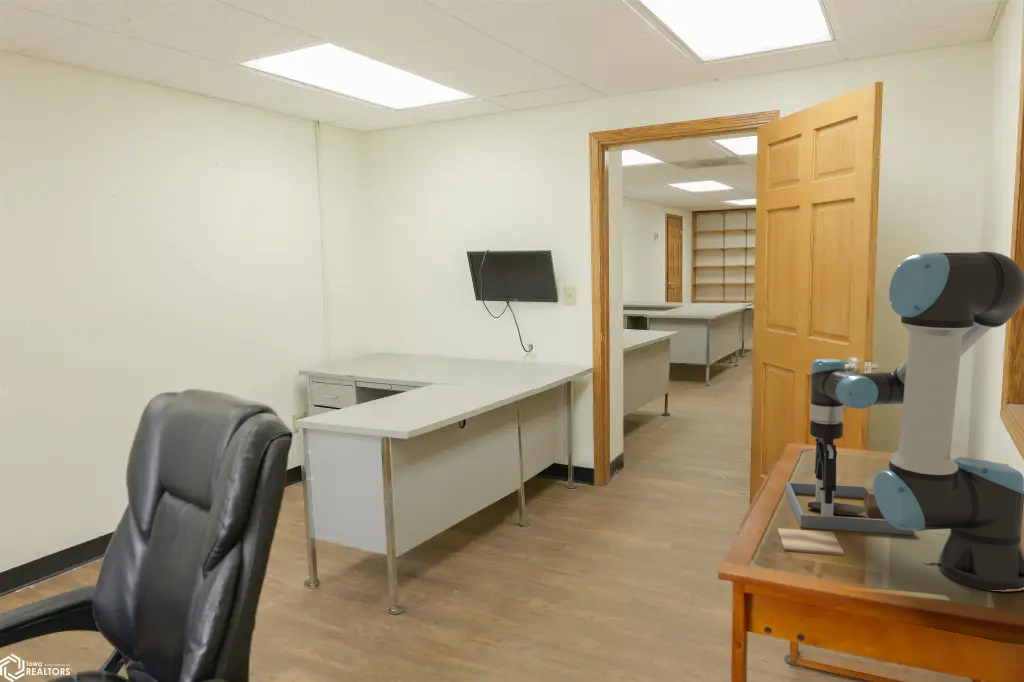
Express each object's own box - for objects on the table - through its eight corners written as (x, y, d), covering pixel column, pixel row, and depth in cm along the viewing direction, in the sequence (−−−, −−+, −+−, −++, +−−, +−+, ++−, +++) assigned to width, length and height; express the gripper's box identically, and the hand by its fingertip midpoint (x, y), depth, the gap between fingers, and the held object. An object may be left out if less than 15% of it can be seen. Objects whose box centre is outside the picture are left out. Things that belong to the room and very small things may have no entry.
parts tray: (913, 535, 156) (913, 522, 156) (800, 527, 162) (800, 515, 162) (882, 498, 181) (882, 487, 181) (786, 492, 187) (786, 481, 187)
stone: (865, 513, 170) (865, 504, 170) (864, 520, 166) (864, 511, 165) (808, 506, 176) (808, 497, 176) (806, 512, 172) (806, 503, 172)
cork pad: (844, 555, 146) (844, 552, 146) (784, 550, 149) (784, 548, 149) (832, 534, 158) (832, 532, 158) (777, 530, 161) (777, 528, 161)
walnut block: (890, 518, 167) (891, 494, 166) (868, 517, 168) (868, 493, 168) (885, 511, 172) (885, 488, 171) (863, 510, 173) (864, 487, 172)
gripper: (852, 430, 160) (849, 525, 162) (834, 413, 179) (832, 497, 182) (817, 429, 162) (815, 522, 164) (804, 412, 181) (802, 496, 184)
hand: (824, 509), depth 173 cm, fingers open, 7 cm apart
